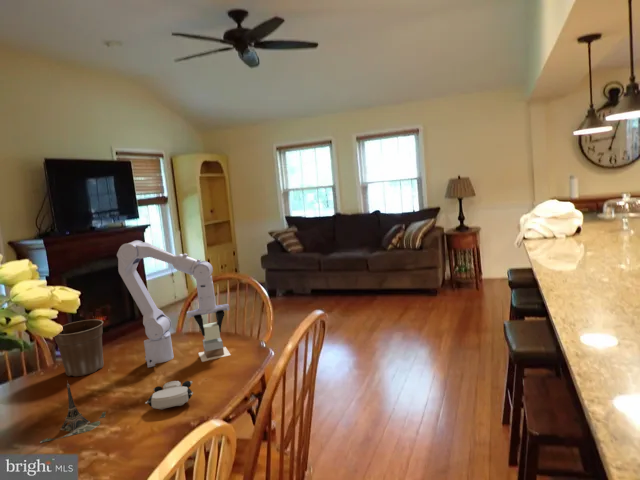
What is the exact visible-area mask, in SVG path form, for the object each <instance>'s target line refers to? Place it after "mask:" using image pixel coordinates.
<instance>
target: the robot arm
mask: <svg viewBox="0 0 640 480" xmlns="http://www.w3.org/2000/svg"><path fill="white" fill-rule="evenodd" d="M188 255H189V254H188V253H179V254H177V255H176V254H173V253H171V252H169V251H167V250H164V249H162V248H160V247H157V246H155V245H152V244H151V243H149V242H147V241H146V242H145V241H144V242H143V241H142V240H138V239H136V240H133V241H131V242H128V243H127V242H126V243H123V244H121V246H120V247H119V249H118V251H117V253H116V257H117V260H118V262H117V263H118V264H117V267H118V268H117V269H118V270H117V271H118V274H119V275H120V277H121V279H122V281H123V283H124V284H125V286H126V288H127V290H128V291H129V293H130V294H131V297H132V299H133V301H135V303H136V306H137V307H138V310H139V311H140V313H141V315H142V316H143V317H142V324H143V326H144V328H145V329H144V332H145V335H146V337H147V338H148V339H145V340H143V345H144V346H143V347H144V353H145V356H144V359H145V362H146V364H147V368H152V367H153V368H154V367H156V364H161V363H165V362H170V361H171V360H173V359H174V356H175V355H174V351H173V343H172V335H171V332H170V329H171V327H172V320H171V319H170V317H169V316H167V315H166V314H165V313H164V311H163V310H161V309H160V308H158V306H157V305H156V303H155V301H154V300H153V298H152V295H151V293H150V292H149V290H148V289H147V287H146V285H145V283H144V281H143V280H142V277H141V275H140V274H139V273H138V271H137V267H138V265H139V263H140V261H141V260H142V259H146V258H151V259H155V260H158V261H161V262H164V263H166V264H167V263H168V264H170V265H172V267H173V268H174V269H175V270H177V271H179V272H182V273H184V274H187V275H189V276H193V278H194V279H195V282H196V283H195V284H196V289H197V291H196V292H197V298H198V299H197V300H198V307H199V308H196V309H194V310H189V311H186V316H187V319H192V318H194V320H195V321H196V323H197V325H198V327H199V329H200V332H201V335H202V337H204V336H205V332H204V328H203V325H204V321H203V317H202V316H204V315H209V314H213V313H214V314H215V318H216V322H217V324H218V325H219V331H220V333H222V324H223V320H224V317H225V311H230V305H229V304H228V303H224V304H217V303H216V302H217V301H216V296H215V295H216V294H215V287H214V282H213V280H214V279H213V275H212V274H213V272H214V268H213V265H212V264H211V263H210V262H208V261H207V260H201V259H200V258H193V257H191V256H188Z"/></svg>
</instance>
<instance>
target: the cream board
mask: <svg viewBox="0 0 640 480" xmlns="http://www.w3.org/2000/svg"><path fill="white" fill-rule="evenodd" d="M223 350H224V355H220V356H215V357H211V358H207V357H206V355H205V353H204V351H200V352H198V356H199V358H200V360H201V362H202V363H204V362H207V361H212V360H217V359H220V358H224V357H228V356H231V355H232V354H231V353H230V351H229V350H228V348H227V347H226V346H223Z"/></svg>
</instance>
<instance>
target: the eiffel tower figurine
mask: <svg viewBox="0 0 640 480" xmlns="http://www.w3.org/2000/svg"><path fill="white" fill-rule="evenodd" d="M66 381H67V383H66V387H67V398H68V399H67V400H68V408H67V410H68V411H67V415H66V417H64V418H65V419H64V421H63V424H62V425H61V427H60V429H59V431H64V432H69V433H67V434H66V435H63V436H62V437H61V436H60V437H58V438H50V437H47V438H45V439H42V440H40V442H39V444H42V443H46V442H51V441H54V440H55V441H56V440H59V439H63V438H68V437H70V436H74V435H79V434H83V433H86V432H90V431H92V430H94V429H95V428H97V427H100V426H101V421H100V420H96V421H93V422H91V421H89V420H88V419H87V418H86V417H84V416H83V414H82V413H81V412H80V411H79V409H77V406H76V404H75V401H74V399H73V395H72V392H71V385H70V384H69V382H68V380H66ZM106 412H107V411H103V412H102V413H101V415H100V416H99V417H98V418H99V419H104V418H106ZM48 438H49V439H48Z"/></svg>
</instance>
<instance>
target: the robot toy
mask: <svg viewBox="0 0 640 480" xmlns="http://www.w3.org/2000/svg"><path fill="white" fill-rule="evenodd" d="M192 384H193V380H186V381H183V382H182V383H181V381H179V380H172V381H168V382H166V383H164V384H163V386H158V385H157V386H156V387H154V388H153V389H152V390H153V391H154V393H152V395H150V397H149V398H148V399H147V401H145V403H144V404H148V405H149V407H151V408H152V409H158V410H160V411H161V410H165V409H168V408H173V407H182V406H184V405H185V403H188V402H189V400H190V399H191V398H192V396H193V394H194V392H193V390H191V389H190V388H191V387H192Z"/></svg>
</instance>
